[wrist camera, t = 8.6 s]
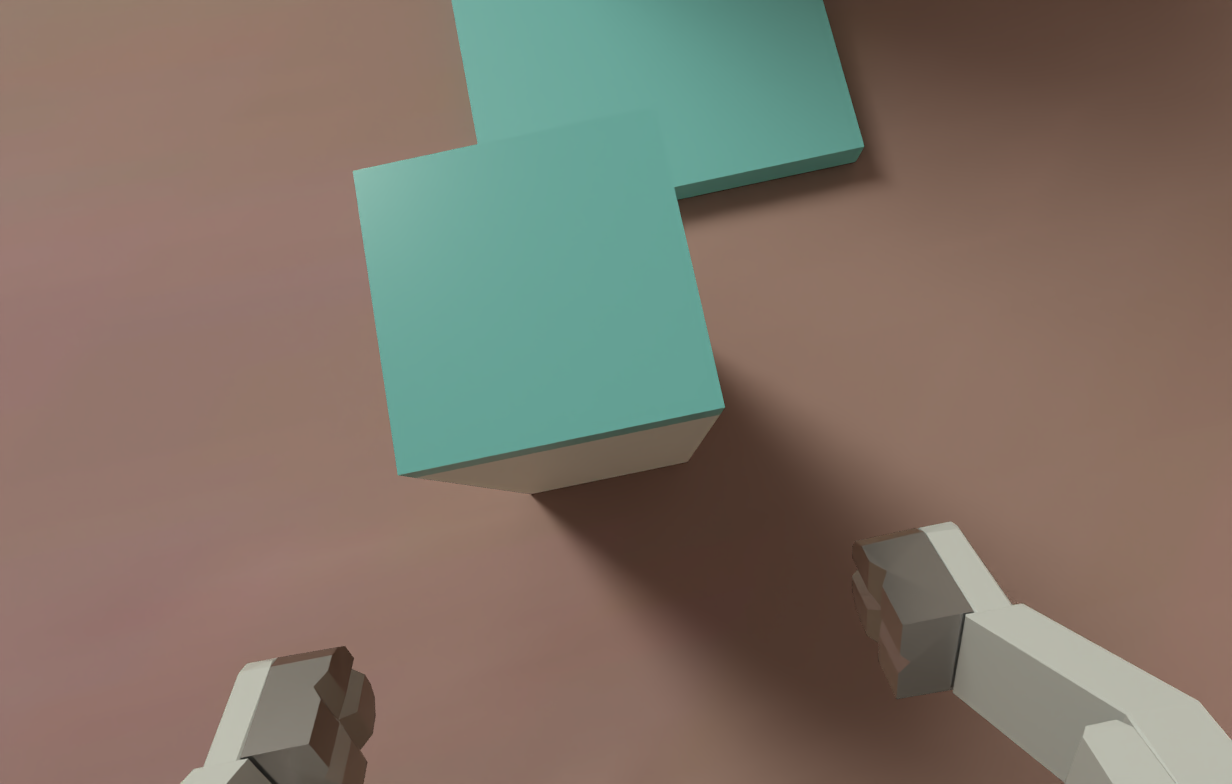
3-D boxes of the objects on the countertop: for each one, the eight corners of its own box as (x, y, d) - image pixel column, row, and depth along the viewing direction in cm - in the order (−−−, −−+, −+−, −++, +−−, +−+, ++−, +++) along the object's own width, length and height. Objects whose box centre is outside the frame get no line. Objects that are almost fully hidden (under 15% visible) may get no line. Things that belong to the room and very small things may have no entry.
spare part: (530, 494, 22) (397, 475, 11) (502, 341, 23) (352, 170, 12) (687, 461, 22) (725, 407, 11) (654, 309, 23) (655, 105, 12)
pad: (499, 237, 24) (492, 225, 23) (442, -71, 26) (434, -95, 25) (855, 161, 24) (864, 146, 23) (769, -144, 26) (774, -170, 25)
